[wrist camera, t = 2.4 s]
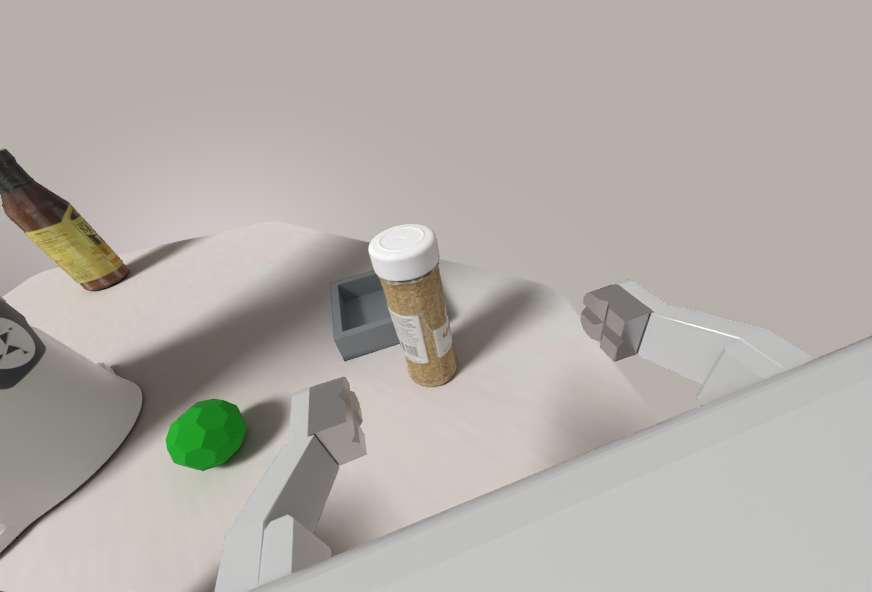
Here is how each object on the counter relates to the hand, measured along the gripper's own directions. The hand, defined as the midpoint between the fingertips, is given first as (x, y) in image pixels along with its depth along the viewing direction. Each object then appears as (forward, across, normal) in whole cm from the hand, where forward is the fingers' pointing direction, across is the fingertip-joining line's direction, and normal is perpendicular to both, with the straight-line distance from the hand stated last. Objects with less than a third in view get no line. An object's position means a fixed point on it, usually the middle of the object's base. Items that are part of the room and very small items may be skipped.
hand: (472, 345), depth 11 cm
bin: (+21, +4, +15) cm, 26 cm away
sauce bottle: (+50, +44, +15) cm, 69 cm away
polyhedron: (+11, +18, +15) cm, 27 cm away
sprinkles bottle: (+12, 0, +16) cm, 20 cm away
